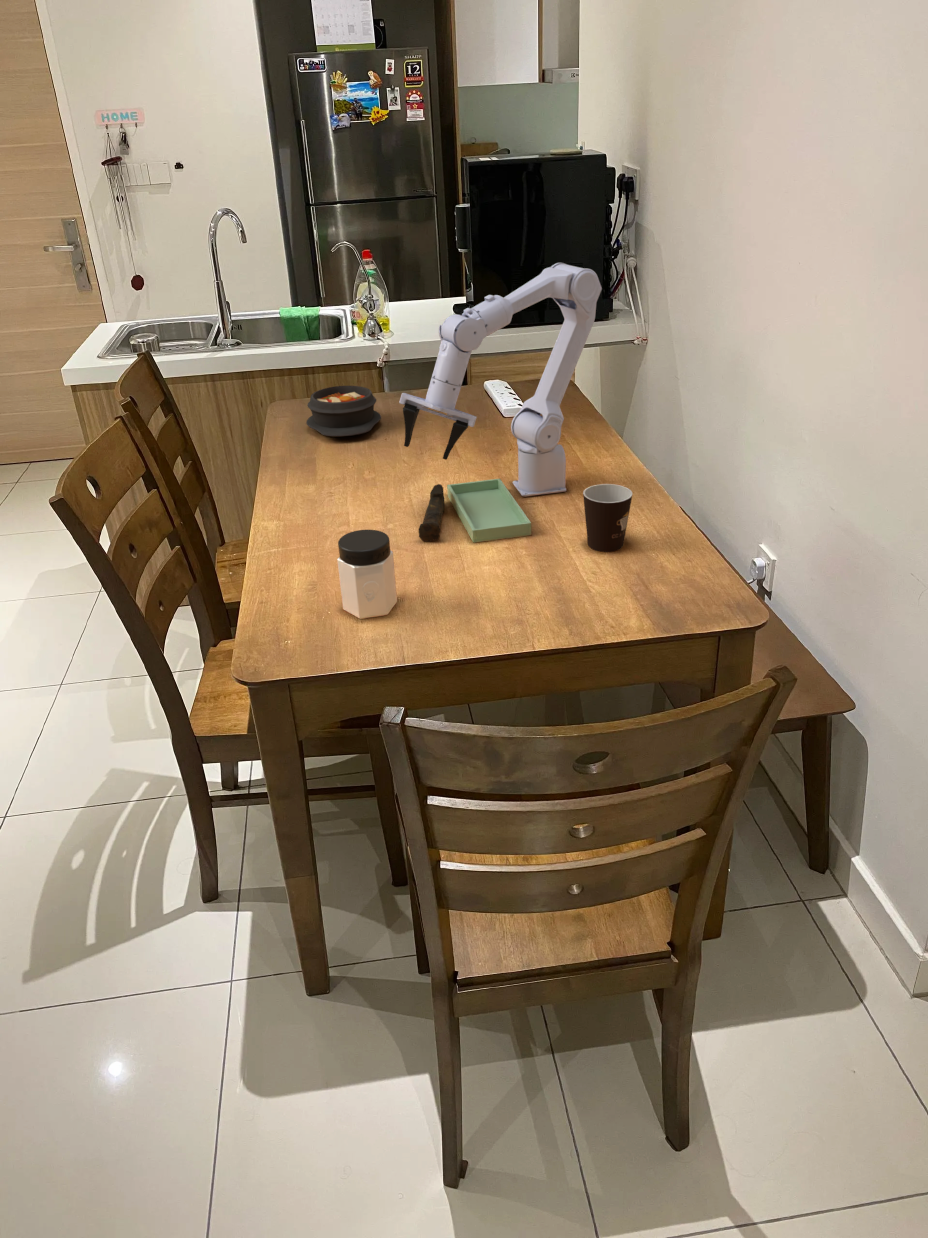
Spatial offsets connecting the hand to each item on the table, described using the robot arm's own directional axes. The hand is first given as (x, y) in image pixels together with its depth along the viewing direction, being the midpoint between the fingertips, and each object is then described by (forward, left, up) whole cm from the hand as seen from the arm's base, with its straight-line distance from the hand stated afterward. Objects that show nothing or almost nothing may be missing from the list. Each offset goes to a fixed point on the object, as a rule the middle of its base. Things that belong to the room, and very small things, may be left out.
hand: (425, 452), depth 177 cm
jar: (+16, +33, -13) cm, 39 cm away
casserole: (+10, -60, -13) cm, 63 cm away
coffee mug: (-30, +22, -13) cm, 39 cm away
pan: (-11, +3, -13) cm, 17 cm away
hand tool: (0, +3, -13) cm, 14 cm away
